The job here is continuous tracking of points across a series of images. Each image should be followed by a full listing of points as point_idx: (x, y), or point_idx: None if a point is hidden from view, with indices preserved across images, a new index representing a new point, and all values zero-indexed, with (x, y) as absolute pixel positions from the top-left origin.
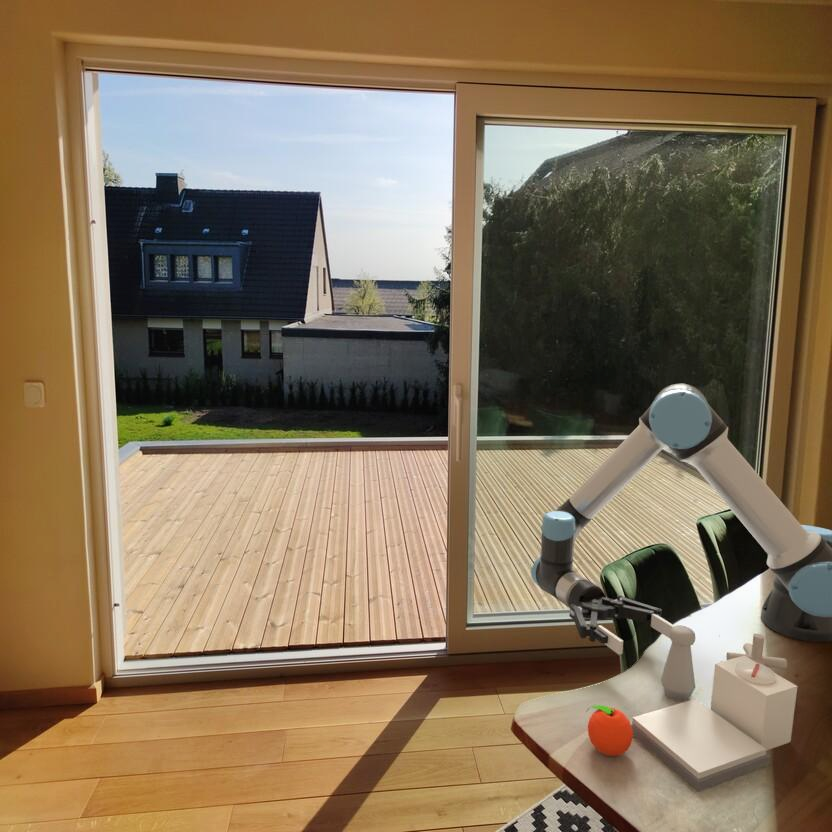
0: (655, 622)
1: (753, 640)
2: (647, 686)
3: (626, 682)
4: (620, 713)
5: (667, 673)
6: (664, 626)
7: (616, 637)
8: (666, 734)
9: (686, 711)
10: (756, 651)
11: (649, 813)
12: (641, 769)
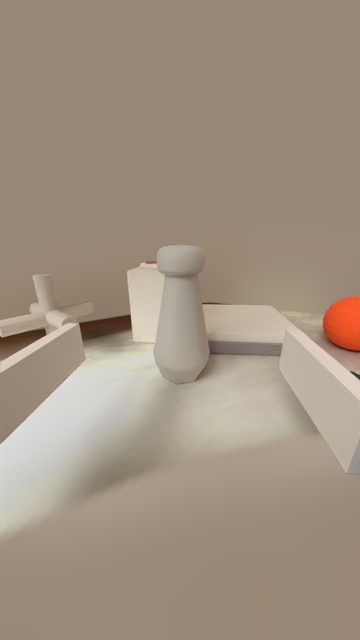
0: (15, 393)
1: (48, 283)
2: (212, 401)
3: (251, 426)
4: (348, 297)
5: (205, 335)
6: (52, 357)
7: (303, 340)
8: (275, 320)
9: (224, 327)
10: (55, 297)
11: (321, 317)
12: (312, 331)
